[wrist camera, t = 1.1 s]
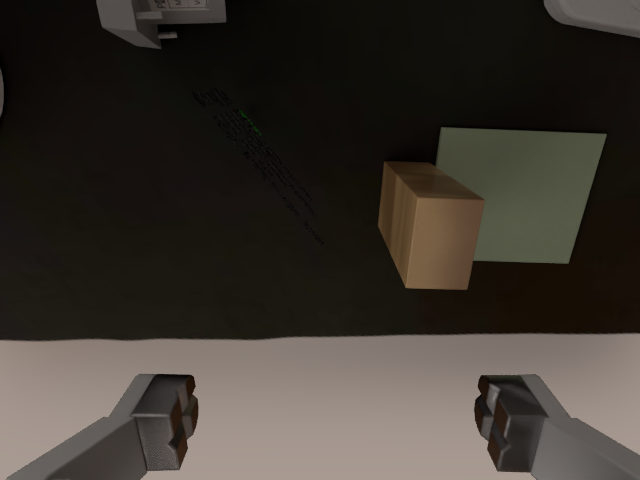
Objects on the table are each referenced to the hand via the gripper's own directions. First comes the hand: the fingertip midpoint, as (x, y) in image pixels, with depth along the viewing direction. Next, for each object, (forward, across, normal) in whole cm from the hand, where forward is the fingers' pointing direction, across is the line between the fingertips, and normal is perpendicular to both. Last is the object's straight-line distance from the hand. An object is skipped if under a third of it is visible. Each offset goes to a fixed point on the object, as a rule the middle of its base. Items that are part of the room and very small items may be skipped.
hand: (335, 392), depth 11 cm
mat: (+26, -16, +1) cm, 30 cm away
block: (+25, -7, +1) cm, 26 cm away
